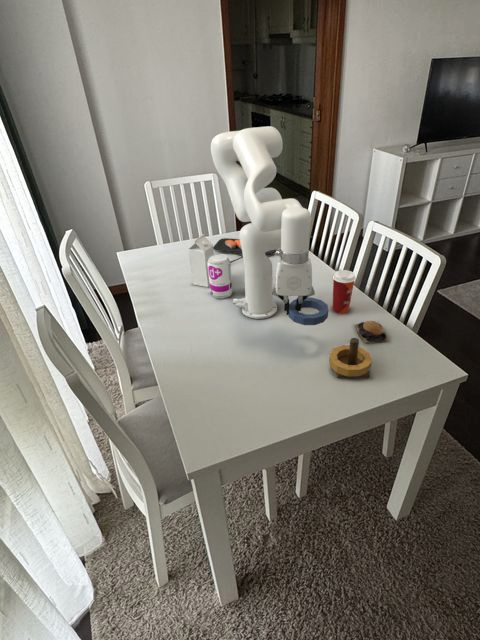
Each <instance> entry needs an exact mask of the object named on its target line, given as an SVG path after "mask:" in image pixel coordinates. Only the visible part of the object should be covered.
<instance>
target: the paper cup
mask: <svg viewBox="0 0 480 640" xmlns="http://www.w3.org/2000/svg"><path fill="white" fill-rule="evenodd" d="M332 279H333V280H332V281H333V282H332V283H333V284H332V286H333V287H332V311H333V313H335V314H338V315H345V314H347V313H349V311H350V305H351V301H352V295H353V291H354V290H353V289H354V284H355V281H356V275H355V273H354V272H353V271H351V270H348V269H340V270H336V271H335V272H334V274H333V275H332Z"/></svg>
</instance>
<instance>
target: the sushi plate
mask: <svg viewBox="0 0 480 640" xmlns="http://www.w3.org/2000/svg"><path fill="white" fill-rule="evenodd" d="M213 249H214V251H219V252H226V253H231V254H234V255H236V256H239V257H238V258H236V259H233V260H230V264H232V263H234V262H236V261H238V260H240V259H243V253H242V248H241V244H240V239H239V238H231V237H230V238H227V237H225V238H224V237H223V238H220V239H219V240H217V242H216V243H215V244H214V245H213ZM276 251H277V249H275V250H271V251H267V252H266V253H265V255H272V254H274V253H275V252H276Z"/></svg>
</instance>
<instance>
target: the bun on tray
mask: <svg viewBox="0 0 480 640" xmlns="http://www.w3.org/2000/svg"><path fill="white" fill-rule="evenodd" d="M355 329H356V331H357V333H358V335H359V336H360V339H362V341H363V342H364V344H378V343H379V344H380V343H386V342H388V341H389V339H388V338H387V334H386V333H385V332H384V329H383V326H382V324H380V323H379V322H377V321H375V320H367V321H361V322H359V323H356V324H355Z"/></svg>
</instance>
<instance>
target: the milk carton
mask: <svg viewBox="0 0 480 640" xmlns="http://www.w3.org/2000/svg"><path fill="white" fill-rule="evenodd" d="M213 247H214V244H213V243H212V242H211V241H210V240H209V239H208V238H207V237H206V235H205V233H203V234H201V235H200V236H199V237H197V238H195V239H194V243H193V244H191V246H190V247H189V248H188V249H187V251H188V252H187V253H188V259H189V267H190V273H191V274H190V275H191V281H192V285H193V286H199V287H205V288H210V282H209V273H208V263H207V262H208V260H209V257H210V256H211V255H214V254H215V250H214V249H213Z"/></svg>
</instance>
